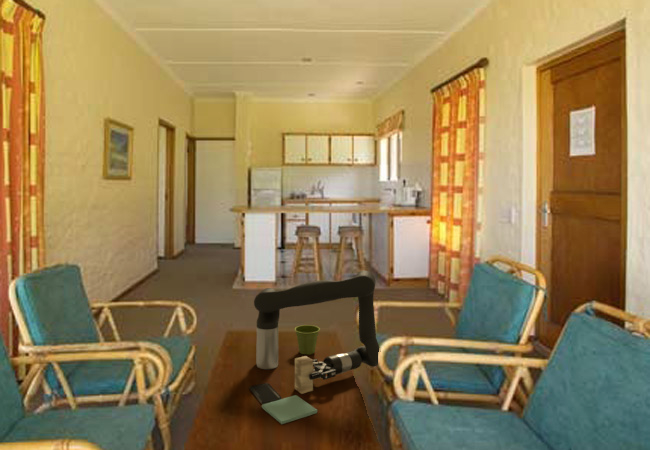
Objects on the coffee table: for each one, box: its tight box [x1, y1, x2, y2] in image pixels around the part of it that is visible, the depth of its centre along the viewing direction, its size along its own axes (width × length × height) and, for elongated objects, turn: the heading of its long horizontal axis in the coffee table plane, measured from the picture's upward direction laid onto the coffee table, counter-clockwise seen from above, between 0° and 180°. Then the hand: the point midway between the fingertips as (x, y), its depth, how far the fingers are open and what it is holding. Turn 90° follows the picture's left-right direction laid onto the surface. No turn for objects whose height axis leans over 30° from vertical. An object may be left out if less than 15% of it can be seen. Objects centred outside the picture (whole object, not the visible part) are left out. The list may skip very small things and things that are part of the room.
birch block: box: [294, 355, 314, 395], centre depth 179 cm, size 5×5×12 cm
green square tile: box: [261, 394, 318, 425], centre depth 163 cm, size 14×14×1 cm
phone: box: [248, 382, 282, 405], centre depth 176 cm, size 8×1×15 cm
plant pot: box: [294, 324, 321, 356], centre depth 219 cm, size 12×12×11 cm
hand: (303, 373), depth 179 cm, fingers open, 8 cm apart
